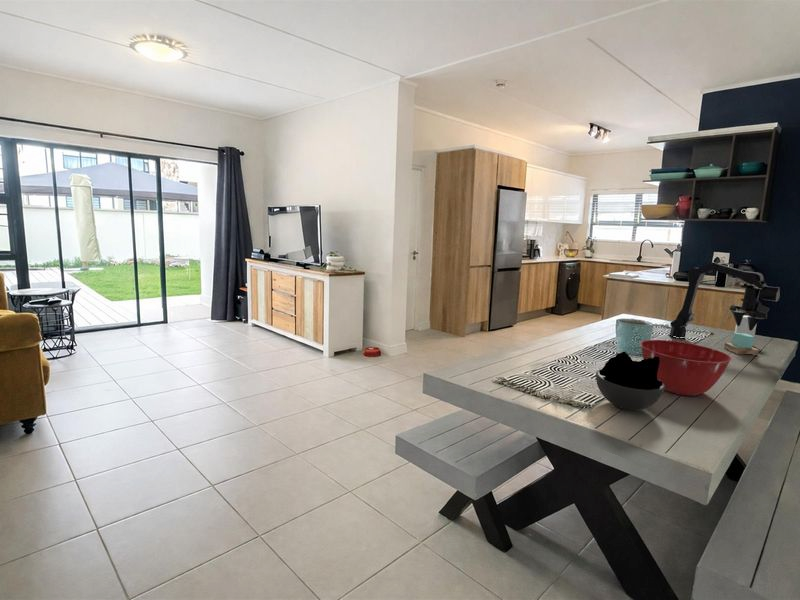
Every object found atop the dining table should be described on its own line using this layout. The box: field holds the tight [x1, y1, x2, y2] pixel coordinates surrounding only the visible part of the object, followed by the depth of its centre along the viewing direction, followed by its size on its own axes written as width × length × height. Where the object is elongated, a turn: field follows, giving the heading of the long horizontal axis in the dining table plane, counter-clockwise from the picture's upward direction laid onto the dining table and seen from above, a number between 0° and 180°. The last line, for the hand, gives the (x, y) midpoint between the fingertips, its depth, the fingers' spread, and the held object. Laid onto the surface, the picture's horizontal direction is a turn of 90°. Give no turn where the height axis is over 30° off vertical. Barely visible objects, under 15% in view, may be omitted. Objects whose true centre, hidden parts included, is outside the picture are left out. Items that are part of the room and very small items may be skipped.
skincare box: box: [734, 314, 758, 337], centre depth 236 cm, size 8×7×16 cm
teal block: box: [731, 332, 755, 348], centre depth 220 cm, size 6×6×6 cm
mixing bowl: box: [639, 339, 733, 397], centre depth 162 cm, size 28×28×16 cm
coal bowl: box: [595, 351, 665, 411], centre depth 142 cm, size 20×20×19 cm
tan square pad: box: [723, 342, 760, 356], centre depth 220 cm, size 10×10×3 cm
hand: (744, 328), depth 219 cm, fingers open, 9 cm apart
